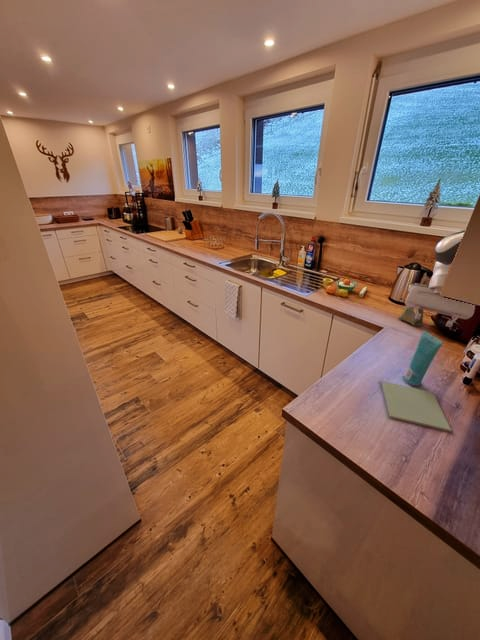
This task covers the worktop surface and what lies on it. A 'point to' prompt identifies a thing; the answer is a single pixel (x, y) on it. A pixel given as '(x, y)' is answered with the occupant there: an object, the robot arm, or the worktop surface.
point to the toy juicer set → (341, 287)
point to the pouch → (409, 311)
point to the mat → (414, 406)
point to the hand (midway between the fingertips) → (432, 322)
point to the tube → (422, 358)
